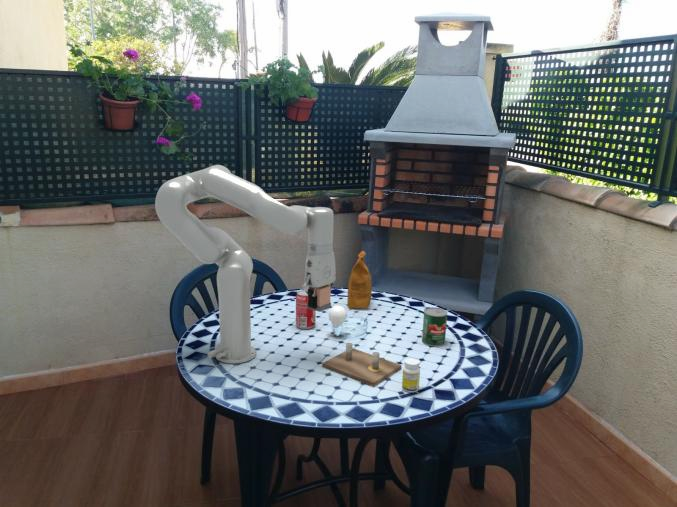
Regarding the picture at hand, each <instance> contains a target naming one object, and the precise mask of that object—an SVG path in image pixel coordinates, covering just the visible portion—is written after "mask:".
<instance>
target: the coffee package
mask: <svg viewBox="0 0 677 507" xmlns="http://www.w3.org/2000/svg"><path fill="white" fill-rule="evenodd" d="M357 255H358V258H357V261H356V262H355V264H354V265H353V267H352V269H351V273H350V277H349V280H348V287H347V308H348V309H350V310H352V309H362V310H363V309H365V310H366V309H369V308H370V306H371V305H370V304H371V301H372V292H373V290H372V289H373V288H372V287H373V285H372V275H371V273H370V269H369V268H368V265H366V263H365V256H366V255H367V253H366V252H365V251H364V250H362V251H361V252H360V253H358V254H357Z"/></svg>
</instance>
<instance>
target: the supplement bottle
mask: <svg viewBox="0 0 677 507" xmlns="http://www.w3.org/2000/svg"><path fill="white" fill-rule="evenodd" d="M420 376H421V368H420V361H419V360H418V359H416V358H414V357H413V358H412V357H411V358H406V359H405V360H404V366H403V367H402V381H401V385H402V386H401V388H402V390H403V391H404V392H406V393H416V392H418V391H419V390H420V379H421V378H420Z"/></svg>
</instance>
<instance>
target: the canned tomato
mask: <svg viewBox="0 0 677 507" xmlns="http://www.w3.org/2000/svg"><path fill="white" fill-rule="evenodd" d="M447 320H448V311H447V310H445V309H443V308H439V307H438V308H437V307H428V308H425V309H423V320H422V321H423V323H422V335H421V342H422V344H424V345H426V346H429V347H435V346H437V347H442V346H444V345H445V344H446V332H447Z"/></svg>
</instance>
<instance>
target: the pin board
mask: <svg viewBox="0 0 677 507" xmlns="http://www.w3.org/2000/svg"><path fill="white" fill-rule="evenodd" d="M321 367H322V368H324V369H327V370H329V371H332V372H335V373H337V374H339V375H342V376H345V377H347V378H349V379H353V380H355V381H358V382H360V383H362V384H365V385H368V386H371V387H375V386H377V385H379V384H380V383H381V382H384V380H386V379H388V378H389V377H390V376H393V375H394V374H395V373H397V372H399V371H400V370H402V364H400V363H397V362H394V361H390V360H388V359H385V358H383V357H380V353H379V352H377V351H375V352H374V351H373V352H372V354H371V353H368V352H364V351H362V350H359V349H357V348H354V347H353V343H351V342H347V343H345V351H342V352H341V353H339V354H337V355H334V356H333V357H331V358H329V359H327V360H326V361H323V362H322V363H321Z"/></svg>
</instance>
